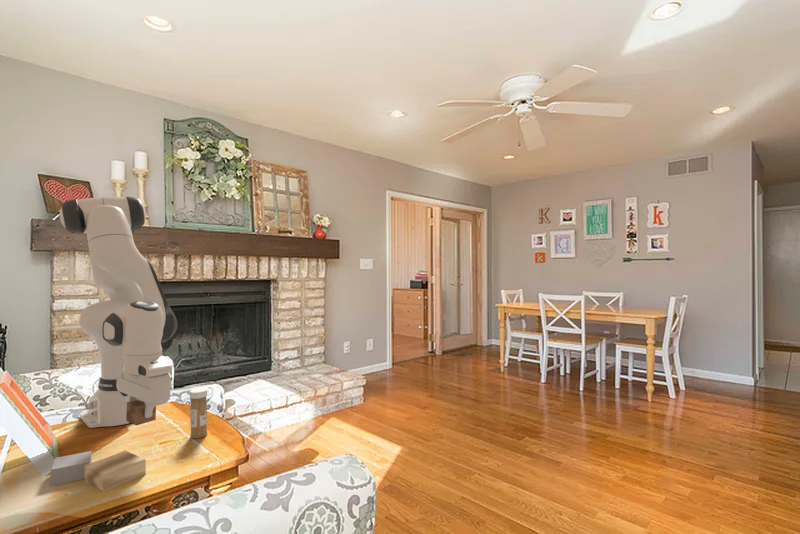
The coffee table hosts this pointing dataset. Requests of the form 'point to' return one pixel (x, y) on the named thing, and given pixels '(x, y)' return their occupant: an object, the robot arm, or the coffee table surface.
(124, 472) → the oak block
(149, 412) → the robot arm
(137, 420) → the walnut cube
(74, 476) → the grey block
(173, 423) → the coffee table surface
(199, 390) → the sprinkles bottle
